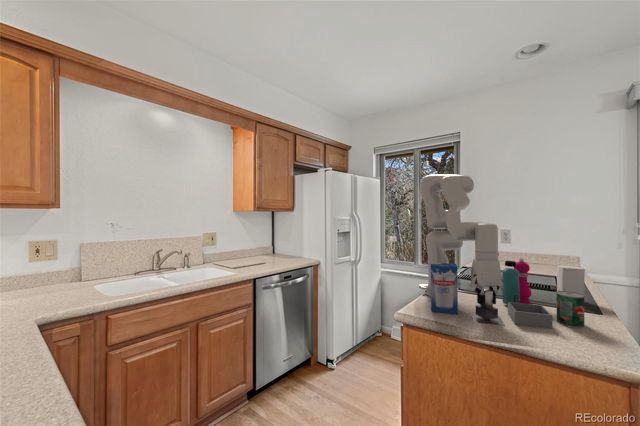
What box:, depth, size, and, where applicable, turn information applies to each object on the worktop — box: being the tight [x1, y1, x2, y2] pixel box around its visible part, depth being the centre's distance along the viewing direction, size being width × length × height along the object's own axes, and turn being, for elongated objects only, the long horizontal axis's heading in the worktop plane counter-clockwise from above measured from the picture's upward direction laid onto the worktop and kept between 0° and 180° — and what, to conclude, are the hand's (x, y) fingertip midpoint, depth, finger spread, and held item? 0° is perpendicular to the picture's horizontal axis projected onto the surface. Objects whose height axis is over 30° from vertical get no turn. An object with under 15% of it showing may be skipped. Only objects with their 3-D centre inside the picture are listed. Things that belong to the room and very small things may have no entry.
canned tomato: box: [555, 290, 586, 329], centre depth 106 cm, size 8×8×11 cm
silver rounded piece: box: [475, 288, 499, 319], centre depth 109 cm, size 5×5×10 cm
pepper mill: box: [513, 258, 532, 304], centre depth 130 cm, size 7×7×20 cm
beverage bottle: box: [501, 260, 520, 306], centre depth 124 cm, size 6×7×20 cm
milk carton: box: [430, 263, 459, 315], centre depth 118 cm, size 10×6×20 cm, turn 70°
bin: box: [507, 302, 553, 330], centre depth 106 cm, size 11×11×6 cm
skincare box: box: [556, 264, 586, 296], centre depth 131 cm, size 8×7×16 cm
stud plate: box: [470, 312, 506, 327], centre depth 109 cm, size 10×10×4 cm
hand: (486, 303), depth 109 cm, fingers closed on silver rounded piece, 4 cm apart
